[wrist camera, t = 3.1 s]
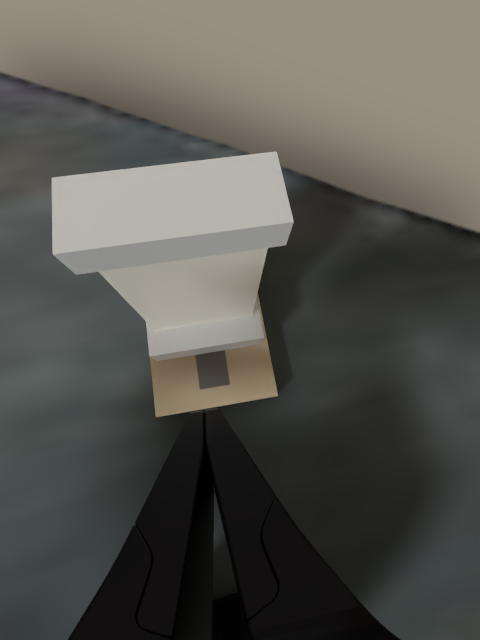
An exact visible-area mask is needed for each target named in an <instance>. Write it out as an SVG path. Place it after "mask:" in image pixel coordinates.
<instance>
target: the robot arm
mask: <svg viewBox="0 0 480 640" xmlns="http://www.w3.org/2000/svg"><path fill="white" fill-rule="evenodd" d="M214 488H215V493H216V497H217V502H218V506H219V511H220V515H221V520H222V524H223V529H224V533H225V538H226V542H227V547H228V551H229V556H230V560H231V565H232V569H233V574H234V578H235V583H236V587H237V592H238V593H235V594H232V595H229V596H226V597H223V598H220V599H217V600H214V601H212V596H213V535H214ZM135 524H136V525H134V526H133V527H132V529H131V531H130V533H129V535H128V537H127V539H126V541H125V543H124V545H123V547H122V549H121V551H120V553H119V555H118V557H117V558H116V560H115V562H114V564H113V566H112V568H111V569H110V571H109V573H108V574H107V576H106V578H105V579H104V581H103V583H102V585H101V586H100V588H99V590H98V591H97V593H96V595H95V596H94V598H93V599H92V601H91V603H90V604H89V606H88V608H87V609H86V611H85V612H84V614H83V616H82V617H81V619H80V621H79V622H78V624H77V625H76V627H75V629H74V630H73V632H72V634H71V635H70V637H69V638H68V640H400V639H399V638H398V637H397V636H395V635H394V634H393V633H391V632H390V631H389V630H388V629H386V628H385V627H384V626H383V625H382V624H381V623H380V622H379V621H378V620H377V619H376V618H375V617H374V616H373V615H372V614H371V613H370V612H369V611H368V610H367V609H366V608H365V607H364V606H363V605H362V604H361V603H360V601H359V600H358V599H357V598H356V597H355V596H354V595H353V593H352V592H351V591H350V590H349V589H348V587H347V586H346V585H345V584H344V583H343V582H342V580H341V579H340V578H339V577H338V576H337V574H336V573H335V572H334V571H333V570H332V569H331V567H330V566H329V565H328V564H327V563H326V561H325V560H324V559H323V558H322V557H321V556H320V554H319V553H318V552H317V551H316V550H315V548H314V547H313V546H312V545H311V543H310V542H309V541H308V540H307V538H306V537H305V536H304V535H303V533H302V532H301V531H300V530H299V528H298V527H297V526H296V524H295V523H294V521H293V520H292V518H291V517H290V516H289V514H288V513H287V511H286V510H285V508H284V507H283V505H282V504H281V502H280V501H279V499H278V498H276V495H275V493H274V492H273V490H272V489H271V487H270V486H269V484H268V483H267V481H266V480H265V478H264V477H263V475H262V474H261V472H260V471H259V469H258V468H257V466H256V464H255V463H254V461H253V460H252V458H251V457H250V455H249V454H248V452H247V451H246V449H245V448H244V446H243V445H242V443H241V442H240V440H239V439H238V437H237V436H236V434H235V432H234V431H233V429H232V428H231V426H230V425H229V423H228V422H227V420H226V419H225V417H224V416H223V414H222V413H221V411H220V410H219V409H218V408H214V409H208V410H205V413H204V411H196V412H191V413H190V414H189V416H188V417H187V419H186V422H185V424H184V426H183V428H182V430H181V432H180V434H179V436H178V438H177V440H176V442H175V444H174V446H173V448H172V450H171V452H170V454H169V456H168V458H167V460H166V462H165V464H164V466H163V468H162V470H161V472H160V474H159V476H158V478H157V480H156V482H155V484H154V486H153V488H152V490H151V492H150V494H149V496H148V498H147V500H146V502H145V504H144V506H143V508H142V510H141V512H140V514H139V516H138V518H137V520H136V522H135ZM237 602H240V605H241V607H240V608H237V607H236V606H235V604H236V603H237Z"/></svg>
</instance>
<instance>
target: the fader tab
mask: <svg viewBox="0 0 480 640" xmlns="http://www.w3.org/2000/svg"><path fill="white" fill-rule="evenodd" d="M293 223H294V221H293V216H292V212H291V208H290V204H289V200H288V196H287V192H286V188H285V184H284V180H283V176H282V172H281V167H280V163H279V159H278V156H277V152H268V153H260V154H251V155H242V156H234V157H225V158H217V159H208V160H199V161H191V162H182V163H174V164H165V165H157V166H148V167H140V168H131V169H122V170H114V171H105V172H97V173H88V174H80V175H71V176H62V177H54V178H52V242H53V255H54V256H55V257H56V258H57V259H59V260H60V261H61V262H62V263H63V264H64V265H66V266H67V267H68V268H69V269H70V270H71V271H72V272H74V273H75V274H76V275H77V274H84V273H91V272H99V273H100V274H101V275H102V276H103V277H104V278H105V279H106V280H107V281H108V282H109V283H110V284H111V285H112V286H113V287H114V288H115V289H116V290H117V291H118V292H119V294H120V295H121V296H122V297H123V298H124V299H125V300H126V301H127V302H128V303H129V304H130V305H131V306H132V307H133V308H134V309H135V310H136V311H137V312H138V313H139V314H140V315H141V316H142V317H143V319H144V320H145V321H146V326H147V336H148V347H149V356H150V357H151V358H153V359H154V360H156V361H161V360H167V359H174V358H180V357H186V356H192V355H198V354H204V353H211V352H217V351H223V350H229V349H235V348H241V347H248V346H254V345H260V344H262V342H263V340H264V333H263V328H262V323H261V318H260V312H259V307H258V302H257V293H258V288H259V284H260V280H261V275H262V271H263V267H264V263H265V258H266V254H267V250H268V248H271V247H278V246H285V245H286V244H287V241H288V238H289V235H290V232H291V229H292V226H293Z"/></svg>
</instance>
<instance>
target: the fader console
mask: <svg viewBox="0 0 480 640" xmlns="http://www.w3.org/2000/svg"><path fill="white" fill-rule="evenodd" d="M257 302H258V307H259V312H260V318H261V323H262V328H263V333H264V340H263V342H262V344H260V345H254V346H248V347H241V348H235V349H229V350H223V351H217V352H211V353H204V354H198V355H192V356H186V357H180V358H174V359H167V360H161V361H156V360H154V359H153V358H151V357H150V361H151V372H152V382H153V393H154V403H155V414H156V417H162V416H168V415H174V414H180V413H185V412H191V411H197V410H202V409H208V408H214V407H219V406H225V405H231V404H237V403H242V402H248V401H254V400H259V399H265V398H271V397H276V396H278V393H277V388H276V383H275V378H274V372H273V367H272V362H271V357H270V352H269V347H268V342H267V337H266V332H265V327H264V322H263V317H262V311H261V306H260V301H259V296H258V293H257Z"/></svg>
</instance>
